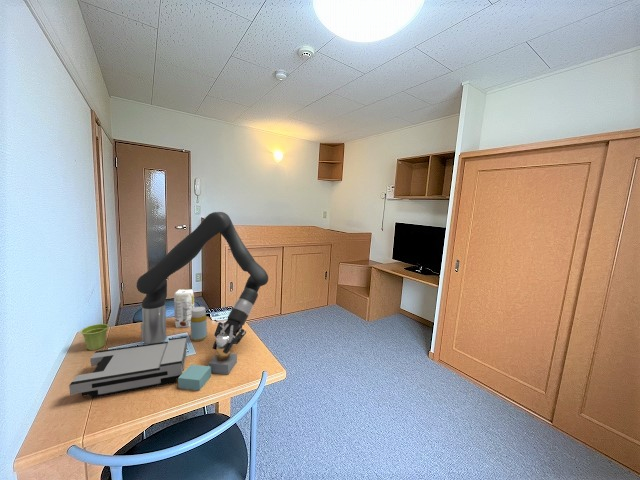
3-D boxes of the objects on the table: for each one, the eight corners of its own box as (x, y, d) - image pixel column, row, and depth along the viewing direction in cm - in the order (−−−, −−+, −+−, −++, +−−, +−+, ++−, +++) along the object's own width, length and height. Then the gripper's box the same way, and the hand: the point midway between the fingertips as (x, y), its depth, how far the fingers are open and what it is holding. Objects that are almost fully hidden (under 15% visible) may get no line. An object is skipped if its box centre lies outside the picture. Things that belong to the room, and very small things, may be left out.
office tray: (97, 367, 105) (95, 348, 103) (187, 353, 116) (187, 336, 115) (71, 405, 85) (68, 381, 84) (182, 384, 97) (181, 363, 96)
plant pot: (111, 339, 125) (109, 322, 124) (108, 349, 117) (107, 330, 116) (84, 344, 120) (83, 326, 119) (80, 354, 112) (78, 335, 111)
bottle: (209, 337, 130) (209, 308, 128) (196, 343, 124) (196, 313, 122) (201, 333, 134) (200, 305, 132) (188, 339, 128) (187, 309, 126)
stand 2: (208, 372, 104) (208, 362, 103) (218, 360, 112) (218, 351, 111) (228, 374, 103) (228, 364, 102) (236, 362, 111) (236, 353, 110)
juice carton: (191, 327, 139) (190, 293, 137) (173, 328, 138) (172, 293, 136) (195, 321, 147) (194, 288, 144) (179, 322, 145) (178, 288, 143)
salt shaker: (214, 360, 105) (213, 338, 103) (220, 353, 110) (219, 332, 108) (226, 361, 104) (226, 339, 103) (231, 354, 109) (231, 333, 108)
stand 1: (178, 388, 94) (178, 377, 94) (191, 374, 102) (191, 364, 102) (199, 390, 94) (199, 380, 93) (211, 376, 102) (211, 366, 101)
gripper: (223, 304, 114) (200, 343, 105) (249, 311, 108) (228, 353, 99) (232, 311, 120) (211, 349, 110) (258, 318, 113) (238, 359, 104)
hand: (219, 350), depth 105 cm, fingers closed on salt shaker, 5 cm apart
